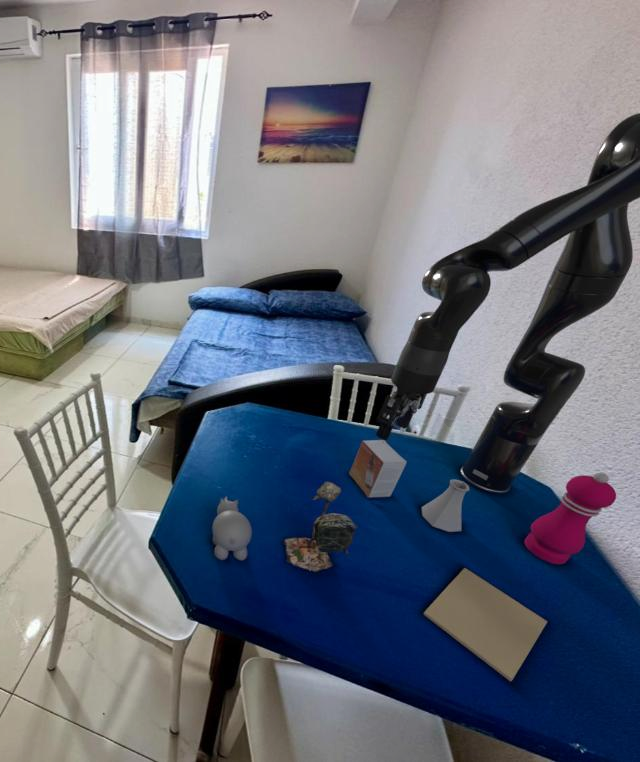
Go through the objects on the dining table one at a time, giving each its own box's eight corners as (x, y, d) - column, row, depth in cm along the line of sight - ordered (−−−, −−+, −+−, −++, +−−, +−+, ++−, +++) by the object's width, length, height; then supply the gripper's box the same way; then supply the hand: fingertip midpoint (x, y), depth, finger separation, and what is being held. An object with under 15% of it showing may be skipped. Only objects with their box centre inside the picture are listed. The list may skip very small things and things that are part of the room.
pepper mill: (556, 542, 83) (616, 466, 73) (577, 571, 77) (645, 493, 67) (514, 532, 85) (566, 456, 75) (531, 560, 79) (591, 482, 69)
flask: (467, 536, 83) (490, 500, 79) (429, 529, 85) (448, 494, 80) (450, 510, 90) (470, 475, 85) (415, 504, 91) (432, 470, 86)
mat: (463, 569, 76) (464, 567, 76) (545, 623, 68) (547, 621, 67) (422, 614, 68) (424, 612, 68) (510, 681, 60) (512, 679, 59)
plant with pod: (347, 585, 73) (384, 503, 63) (281, 564, 76) (307, 484, 67) (343, 549, 80) (376, 471, 70) (282, 532, 83) (306, 455, 73)
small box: (348, 474, 99) (361, 439, 94) (369, 473, 100) (384, 439, 94) (368, 498, 92) (383, 462, 87) (391, 497, 93) (407, 461, 87)
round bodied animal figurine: (240, 517, 86) (247, 486, 82) (249, 566, 76) (258, 534, 72) (206, 513, 87) (211, 483, 83) (210, 562, 76) (216, 530, 72)
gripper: (423, 381, 74) (392, 452, 82) (456, 364, 81) (425, 431, 89) (382, 365, 80) (357, 433, 87) (416, 351, 87) (390, 414, 94)
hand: (391, 432), depth 88 cm, fingers open, 8 cm apart
